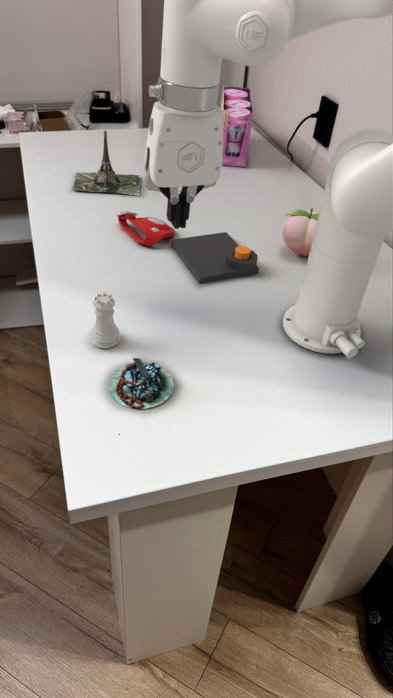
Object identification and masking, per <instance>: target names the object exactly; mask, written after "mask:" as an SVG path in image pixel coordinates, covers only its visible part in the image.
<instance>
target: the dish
mask: <svg viewBox="0 0 393 698" xmlns="http://www.w3.org/2000/svg"><path fill="white" fill-rule="evenodd" d="M132 360H133V362H130V363H128V364H126V365H124V366H122V367H121V368H119V369H118V370H116V371H115V372H114V373H113V374H112V375H111V377H110V379H109V382H108V391H109V393H110V395H111V397H112V398H113V399H114V400H115V401H116V402H117V403H118V404H120V405H122V406H124V407H126V408H129V409H134V408H135V410H137V408H140V410H144V409H149V408H154V407H157V406H159V405H162V404H163V403H165V402H166V401H167V400H168V399H169V398H170V397H171V395H172V394H173V391H174V387H175V386H174V385H175V384H174V380H173V377H172V376H171V374H170V373H168V372H167V371H166V370H164V369H162V366H161V365H160V364H158V363H155V362H153V361H152V362H150V363H147V362H144V361H142V359H141V358H139V357H132Z"/></svg>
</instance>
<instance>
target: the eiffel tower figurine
mask: <svg viewBox="0 0 393 698" xmlns="http://www.w3.org/2000/svg"><path fill="white" fill-rule="evenodd" d="M102 134H103V152H102V160H101V164H100V168H99V170H97V172H76V175H75V178H74V182H73V186H72V190H76V191H82V192H89V193H90V192H92V193H114V194H123V195H130V196H138V197H141V183H140V179H141V178H140V175H139V174H122V173H121V174H119V173H116V171H115V170H114V169H113V166H112V163H111V162H112V161H111V160H110V155H109V146H108V131H106V129H104V131H103V133H102Z"/></svg>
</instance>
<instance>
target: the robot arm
mask: <svg viewBox="0 0 393 698" xmlns="http://www.w3.org/2000/svg"><path fill="white" fill-rule="evenodd" d="M389 16H393V0H164V1H163V17H162V18H163V19H162V34H161V35H162V36H161V37H162V38H161V54H160V55H161V56H160V57H161V58H160V71H159V72H160V74H159V77H158V81H157V83H155V84H149V86H148V95H149V97H151V98H154V99H155V98H156V99H157V100H158V101H155V102H154V104H153V107H152V110H151V115H150V119H149V123H148V129H147V134H146V135H147V136H146V144H145V145H146V146H145V153H144V170H145V176H144V181H143V186H144V188H145V189H146V190H148V191H151V192H156V193H161V194H162V195H164V197H165V198H166V199H167V205H166V219H167V221H168V222H169V223H170V224H171V226H172V228H173V229H174V230H178V229H180V228H181V229H186V227H187V221H188V220H189V219H190V212H191V203H194V201H195V199H196V197H197V196H198V194H200V193H201V192H202V191H203V189H204V190H206V189H208V188H211V187H214V186H216V184H217V182H218V181H219V180H220V178H221V173H222V166H223V165H222V154H223V116H222V109H221V106H218V96H219V90H220V89H219V88H220V80H221V71H222V64H223V59H224V60H228V61H231V62H233V63H236V64H239V65H242V66H246V67H252V68H261V67H264V66H267V65H270V64H271V63H273V62H274V61H276V60H277V59H278V58H279V56H281V54H282V53H283V52H284V50H285V48H286V46H287V44H288V42H290V41H293V40H296V39H297V38H300V37H302V36H306V35H308V34H309V33H313V32H316V31H317V30H320V29H322V28H323V29H324V28H326V27H328V26H332V25H334V24H337V23H341V22H345V21H350V20H357V19H380V18H385V17H389ZM326 176H327V177H326V181H325V186H324V192H323V196H322V200H321V205H320V210H319V218H318V222H317V226H316V230H315V234H314V238H313V241H312V245H311V249H310V253H309V255H308V258H307V262H306V266H305V269H304V273H303V276H302V277H303V278H302V282H301V286H300V289H299V294H298V297H297V301H296V304H294V305H291V306H290V307H289V308H287V310H286V311H285V313H284V315H283V319H282V327H283V330H284V332H285V334H286V335H287V336H288V337H289V339H291V340H292V341H293V342H295V343H296V344H297V345H299V346H300V347H303V348H304V349H306V350H309V351H312V352H316V353H320V354H328V355H329V354H330V355H334V354H342V353H343V354H344V356H345V357H346V358H348V359H352V358H354V357H355V356H356V355H357V354H358V352H359V349H361V348H362V349H363V347H364V346H365V344H366V342H365V340H363V339H362V338H361V335H362V334H361V333H362V329H361V326H360V324H361V322H360V321H359V320H358V319H357V316H358V313H359V311H360V308H361V305H362V302H363V299H364V296H365V293H366V291H367V288H368V285H369V282H370V280H371V276H372V273H373V271H374V268H375V265H376V263H377V259H378V257H379V254H380V252H381V249H382V245H383V243H384V239H385V237H386V234H388V233H392V232H393V134H392V133H390V132H388V131H387V130H384V129H382V128H377V127H366V128H362V129H359V130H356V131H354V132H353V133H351V134H349V135H348V136H347V137H345V138H344V139H343V140H342V141H341V143H340V144H339V145H338V146H337V148H336V149H335V151H334V152H333V155H332V157H331V160H330V164H329V167H328V172H327V175H326ZM179 187H181V188H180V190H179Z"/></svg>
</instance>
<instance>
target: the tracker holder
mask: <svg viewBox="0 0 393 698" xmlns="http://www.w3.org/2000/svg"><path fill="white" fill-rule="evenodd" d="M137 216H138V213H137V212H132V211H129V210H128V211H127V210H126V211H125V210H123V211H121V212H119V213H116V214H115V217H117V221H118V224H119V225H120V227H121V228H122V229H123V230H124V231H125V232H126V233H127V234H128V235H129V236H130V237H131V238H132V239H133V240H134V241H135V242H136V243H137V244H141V245H143V246H147V247H153V246H155V245H156V244H157V243H158V242H160V241H162V240H164V239H168V238H172V237H174V236H175V228H174V227H173V226H172V227H171V226H170V225H168V224H167V223H166V222H165V221H164V220H162V219H159V218H157V217H151V216H147V217H146V216H145V217H137ZM128 222H130V223H131V224H132V225H133V226H135V227H136V228H138V229H139V230H141V231H142V233H144V235H145V237H142V236H141V234H139V233H138V232H136V230H134V229H133V228H132V227H131V226H130V224H129V223H128Z"/></svg>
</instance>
